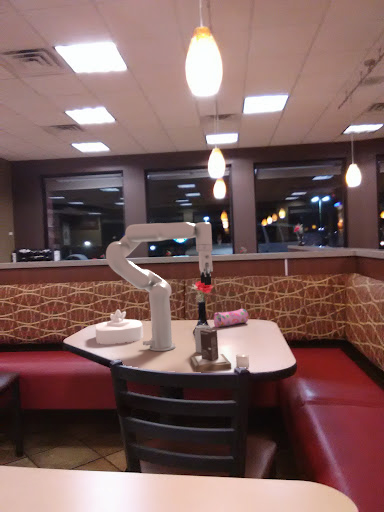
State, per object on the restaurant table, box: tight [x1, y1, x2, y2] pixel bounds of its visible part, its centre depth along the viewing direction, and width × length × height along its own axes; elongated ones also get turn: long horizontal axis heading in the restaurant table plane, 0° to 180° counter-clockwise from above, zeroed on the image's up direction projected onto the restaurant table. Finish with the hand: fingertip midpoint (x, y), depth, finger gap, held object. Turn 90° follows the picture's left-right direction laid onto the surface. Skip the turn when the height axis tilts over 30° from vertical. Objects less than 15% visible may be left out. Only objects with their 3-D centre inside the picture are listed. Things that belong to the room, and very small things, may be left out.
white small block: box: [235, 353, 250, 369], centre depth 159 cm, size 5×5×4 cm
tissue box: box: [94, 308, 144, 345], centre depth 219 cm, size 25×25×16 cm
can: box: [194, 324, 211, 354], centre depth 183 cm, size 8×8×12 cm
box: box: [200, 328, 219, 361], centre depth 163 cm, size 6×4×12 cm
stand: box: [190, 353, 232, 373], centre depth 163 cm, size 14×14×2 cm
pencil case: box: [213, 307, 250, 328], centre depth 238 cm, size 21×9×9 cm, turn 116°
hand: (205, 283), depth 191 cm, fingers open, 9 cm apart
